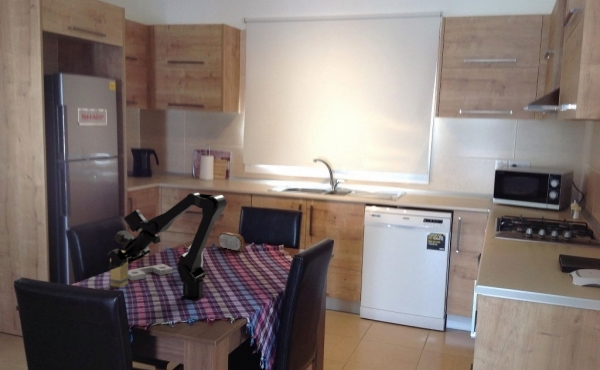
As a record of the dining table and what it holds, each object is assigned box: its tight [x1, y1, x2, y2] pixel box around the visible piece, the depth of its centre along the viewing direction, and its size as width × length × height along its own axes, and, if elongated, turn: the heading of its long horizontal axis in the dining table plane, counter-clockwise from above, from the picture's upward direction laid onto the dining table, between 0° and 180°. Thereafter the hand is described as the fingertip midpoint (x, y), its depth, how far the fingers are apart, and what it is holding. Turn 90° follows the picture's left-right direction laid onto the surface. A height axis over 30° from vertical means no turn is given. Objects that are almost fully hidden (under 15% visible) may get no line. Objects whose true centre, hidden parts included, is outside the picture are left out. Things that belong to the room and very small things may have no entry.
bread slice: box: [218, 231, 246, 252], centre depth 261 cm, size 15×3×8 cm, turn 58°
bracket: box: [128, 263, 174, 282], centre depth 216 cm, size 8×18×2 cm, turn 134°
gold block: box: [109, 249, 129, 288], centre depth 201 cm, size 5×5×13 cm
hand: (116, 266), depth 201 cm, fingers open, 9 cm apart
